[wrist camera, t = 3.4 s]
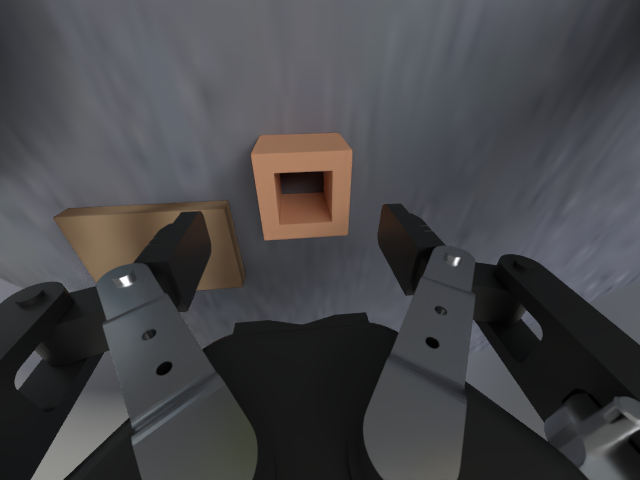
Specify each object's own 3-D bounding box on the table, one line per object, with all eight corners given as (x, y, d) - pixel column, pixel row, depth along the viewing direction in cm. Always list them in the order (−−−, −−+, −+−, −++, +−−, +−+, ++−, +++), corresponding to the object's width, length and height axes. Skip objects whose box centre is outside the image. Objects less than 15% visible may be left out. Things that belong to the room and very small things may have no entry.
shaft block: (228, 200, 20) (200, 256, 14) (245, 276, 25) (230, 344, 19) (68, 208, 20) (-37, 272, 13) (115, 285, 24) (53, 360, 18)
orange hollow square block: (338, 132, 18) (352, 150, 14) (336, 203, 22) (347, 235, 17) (260, 135, 18) (250, 154, 14) (269, 207, 21) (264, 240, 17)
